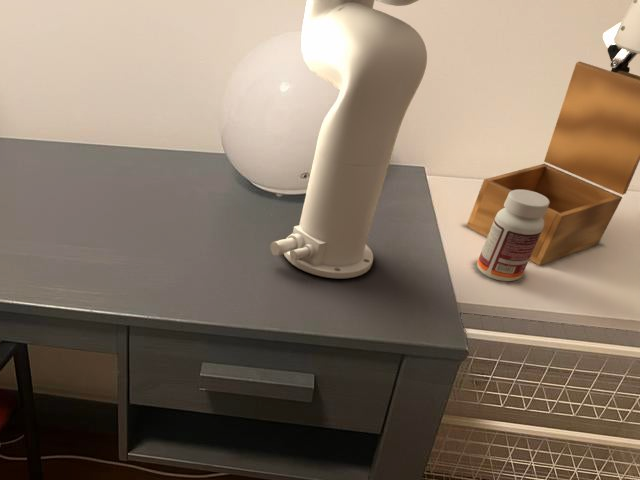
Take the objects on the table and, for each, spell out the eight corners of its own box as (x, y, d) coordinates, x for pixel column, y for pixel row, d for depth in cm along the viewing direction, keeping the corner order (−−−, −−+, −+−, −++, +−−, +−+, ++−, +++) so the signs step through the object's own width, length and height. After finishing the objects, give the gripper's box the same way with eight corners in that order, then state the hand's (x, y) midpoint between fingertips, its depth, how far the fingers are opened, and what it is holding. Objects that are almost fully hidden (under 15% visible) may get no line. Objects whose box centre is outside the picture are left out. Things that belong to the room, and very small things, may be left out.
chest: (539, 265, 107) (562, 216, 102) (466, 226, 116) (483, 179, 111) (598, 244, 113) (622, 197, 108) (524, 208, 122) (544, 163, 117)
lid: (666, 91, 97) (692, 79, 99) (575, 62, 106) (601, 51, 108) (622, 195, 108) (646, 182, 110) (543, 161, 117) (567, 150, 118)
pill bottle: (529, 276, 105) (564, 202, 97) (503, 287, 102) (537, 211, 95) (492, 256, 108) (523, 184, 101) (466, 266, 106) (495, 192, 99)
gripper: (618, -50, 100) (561, 88, 111) (753, -23, 88) (673, 127, 100) (649, -52, 103) (590, 82, 114) (783, -26, 92) (703, 119, 103)
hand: (630, 102), depth 107 cm, fingers closed on lid, 5 cm apart
